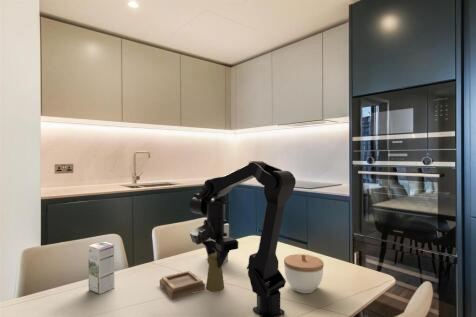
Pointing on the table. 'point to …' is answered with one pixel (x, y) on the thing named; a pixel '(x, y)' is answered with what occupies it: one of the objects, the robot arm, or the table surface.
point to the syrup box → (101, 267)
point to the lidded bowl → (303, 272)
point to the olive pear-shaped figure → (214, 275)
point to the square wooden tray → (181, 284)
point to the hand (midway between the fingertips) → (215, 264)
